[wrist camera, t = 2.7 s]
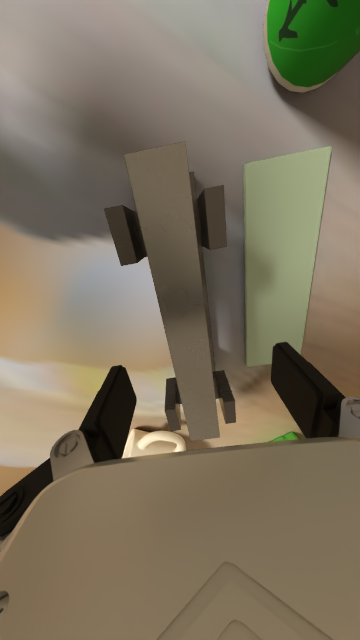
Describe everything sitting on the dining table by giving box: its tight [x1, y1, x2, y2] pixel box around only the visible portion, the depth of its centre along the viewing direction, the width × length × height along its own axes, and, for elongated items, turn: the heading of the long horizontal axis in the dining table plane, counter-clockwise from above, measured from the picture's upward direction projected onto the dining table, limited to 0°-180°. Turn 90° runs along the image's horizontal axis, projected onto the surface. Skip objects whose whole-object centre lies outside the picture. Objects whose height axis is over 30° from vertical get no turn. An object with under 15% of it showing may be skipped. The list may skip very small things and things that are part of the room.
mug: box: [122, 429, 186, 458], centre depth 32 cm, size 12×10×8 cm
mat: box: [243, 146, 332, 367], centre depth 23 cm, size 25×8×1 cm, turn 10°
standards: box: [104, 172, 236, 431], centre depth 19 cm, size 25×6×11 cm, turn 10°
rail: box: [124, 142, 220, 441], centre depth 15 cm, size 23×3×3 cm, turn 10°
